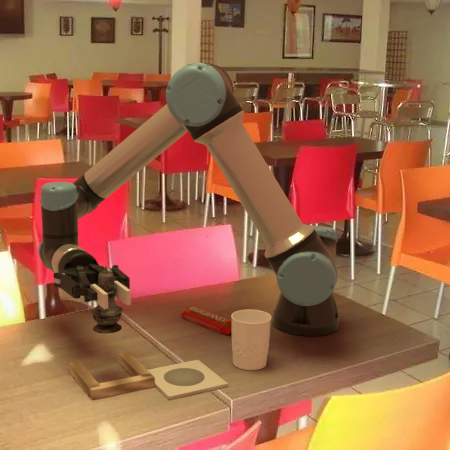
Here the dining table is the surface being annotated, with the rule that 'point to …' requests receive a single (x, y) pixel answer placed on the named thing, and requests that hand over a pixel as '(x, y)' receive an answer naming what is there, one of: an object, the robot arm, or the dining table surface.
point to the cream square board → (186, 379)
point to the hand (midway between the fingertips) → (117, 299)
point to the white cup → (250, 338)
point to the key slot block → (96, 390)
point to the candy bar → (207, 320)
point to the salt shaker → (111, 315)
